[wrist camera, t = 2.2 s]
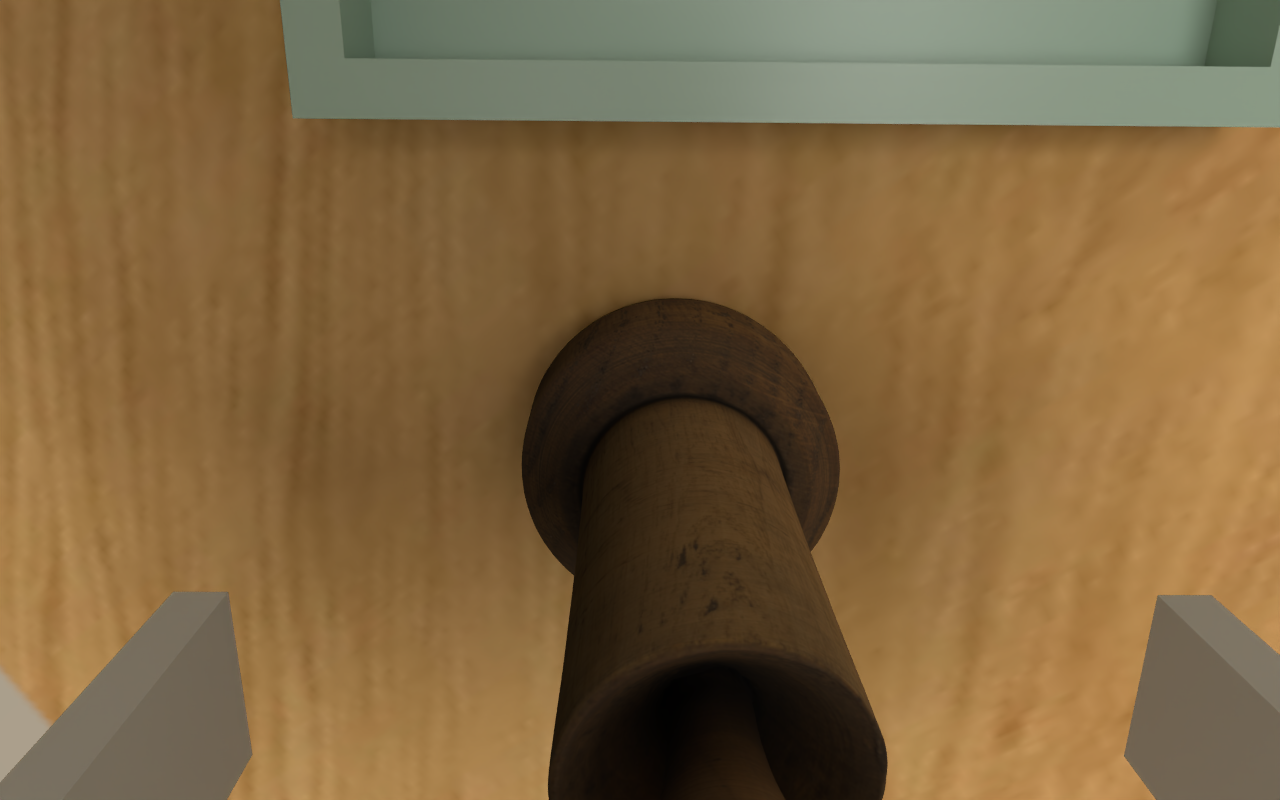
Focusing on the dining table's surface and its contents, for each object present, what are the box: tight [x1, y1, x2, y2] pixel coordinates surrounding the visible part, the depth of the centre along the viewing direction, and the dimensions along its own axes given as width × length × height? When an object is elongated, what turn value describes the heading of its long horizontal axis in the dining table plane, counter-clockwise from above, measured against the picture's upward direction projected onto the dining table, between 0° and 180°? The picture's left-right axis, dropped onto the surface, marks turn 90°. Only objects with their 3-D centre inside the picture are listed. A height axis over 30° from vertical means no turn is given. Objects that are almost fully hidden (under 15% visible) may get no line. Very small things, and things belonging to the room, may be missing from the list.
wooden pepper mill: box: [522, 299, 887, 800], centre depth 13 cm, size 7×6×18 cm
